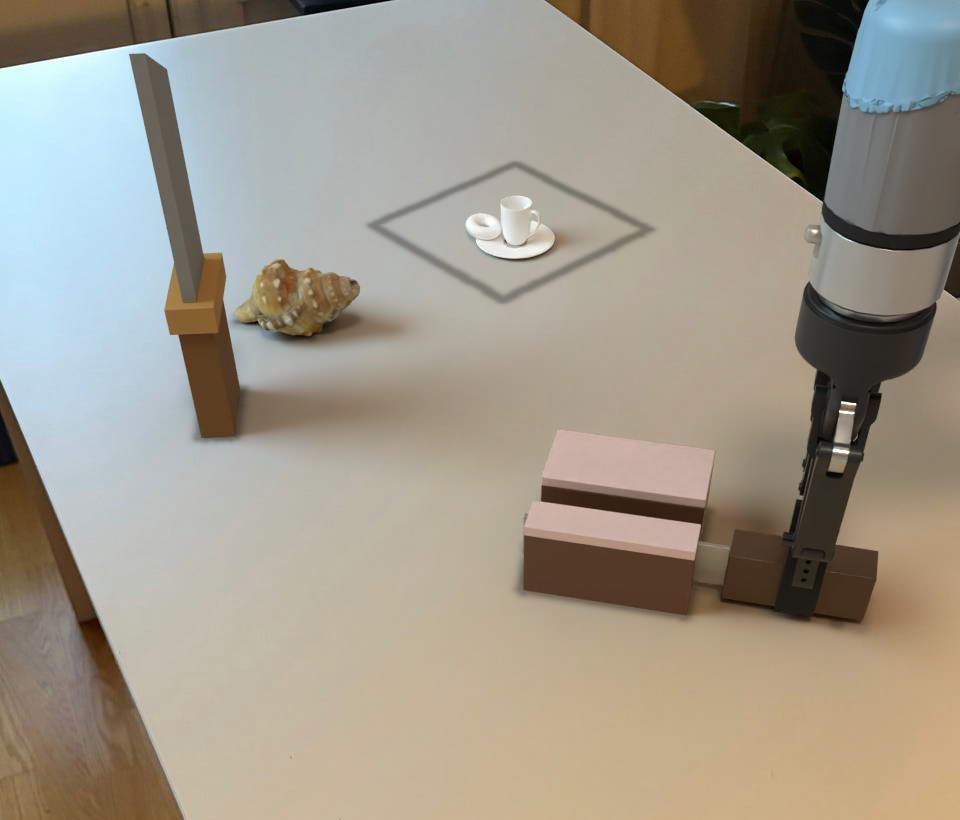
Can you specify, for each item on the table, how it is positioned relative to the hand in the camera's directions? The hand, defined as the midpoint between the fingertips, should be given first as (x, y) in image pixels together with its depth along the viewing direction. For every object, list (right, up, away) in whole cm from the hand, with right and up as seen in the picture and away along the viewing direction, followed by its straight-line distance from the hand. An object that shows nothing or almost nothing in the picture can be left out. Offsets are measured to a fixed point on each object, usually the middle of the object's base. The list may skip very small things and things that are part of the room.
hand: (796, 592), depth 87 cm
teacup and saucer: (-20, +42, +38) cm, 59 cm away
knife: (-45, +17, +17) cm, 51 cm away
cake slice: (-13, +1, +2) cm, 14 cm away
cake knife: (-7, +1, +2) cm, 8 cm away
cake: (-12, +6, +7) cm, 15 cm away
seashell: (-39, +28, +26) cm, 55 cm away
